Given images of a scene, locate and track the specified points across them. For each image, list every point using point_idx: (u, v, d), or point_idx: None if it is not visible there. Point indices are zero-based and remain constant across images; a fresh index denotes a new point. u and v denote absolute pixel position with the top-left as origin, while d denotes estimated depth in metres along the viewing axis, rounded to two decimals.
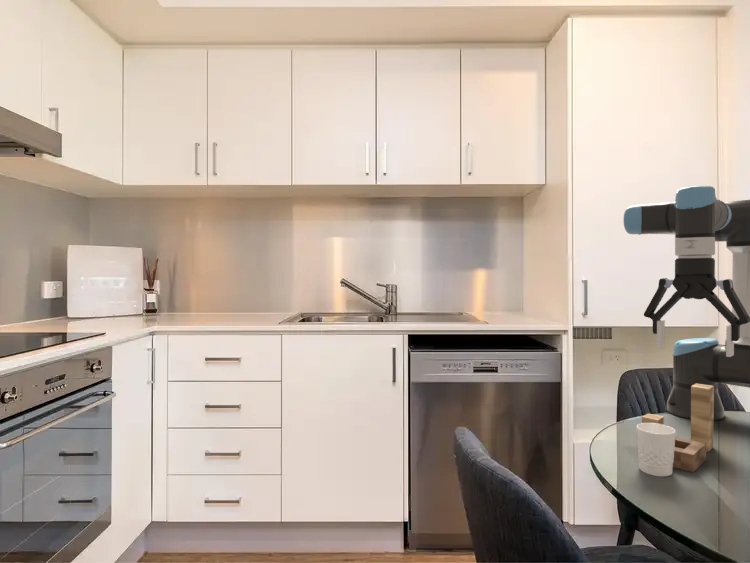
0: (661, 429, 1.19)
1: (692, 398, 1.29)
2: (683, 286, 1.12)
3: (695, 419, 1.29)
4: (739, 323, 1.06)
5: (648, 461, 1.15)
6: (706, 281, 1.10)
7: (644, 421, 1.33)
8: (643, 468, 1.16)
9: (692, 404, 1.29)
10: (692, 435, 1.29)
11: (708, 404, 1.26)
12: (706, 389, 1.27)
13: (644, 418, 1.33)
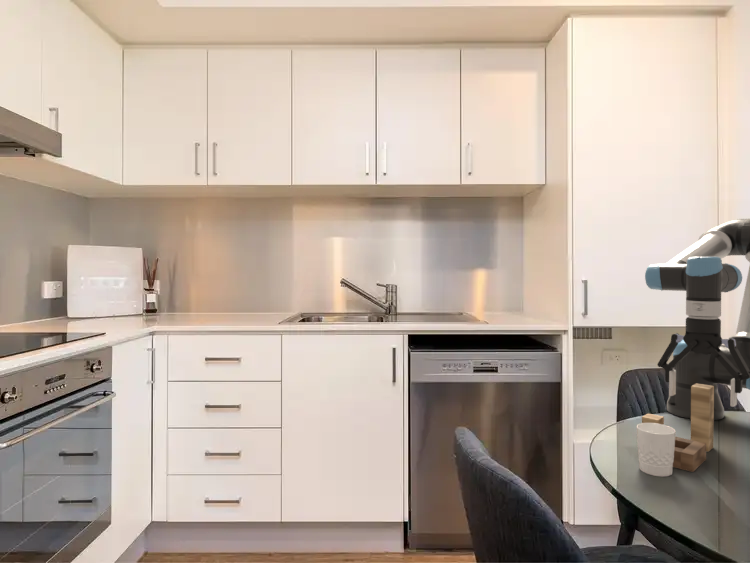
0: (661, 429, 1.19)
1: (692, 398, 1.29)
2: (693, 342, 1.28)
3: (695, 419, 1.29)
4: (742, 378, 1.22)
5: (648, 461, 1.15)
6: (713, 339, 1.26)
7: (644, 421, 1.33)
8: (643, 468, 1.16)
9: (692, 404, 1.29)
10: (692, 435, 1.29)
11: (708, 404, 1.26)
12: (706, 389, 1.27)
13: (644, 418, 1.33)
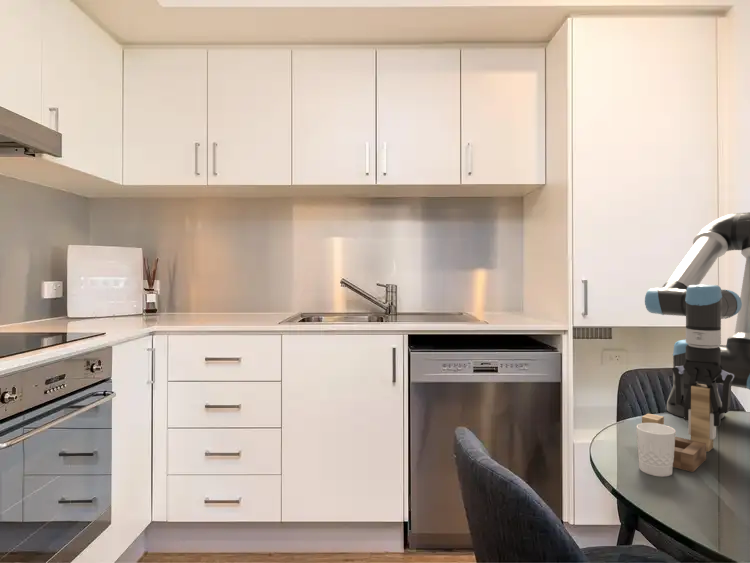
0: (661, 429, 1.19)
1: (692, 398, 1.29)
2: (693, 371, 1.29)
3: (695, 419, 1.29)
4: (720, 412, 1.26)
5: (648, 461, 1.15)
6: (714, 367, 1.26)
7: (644, 421, 1.33)
8: (643, 468, 1.16)
9: (692, 404, 1.29)
10: (692, 435, 1.29)
11: (708, 404, 1.26)
12: (706, 389, 1.27)
13: (644, 418, 1.33)
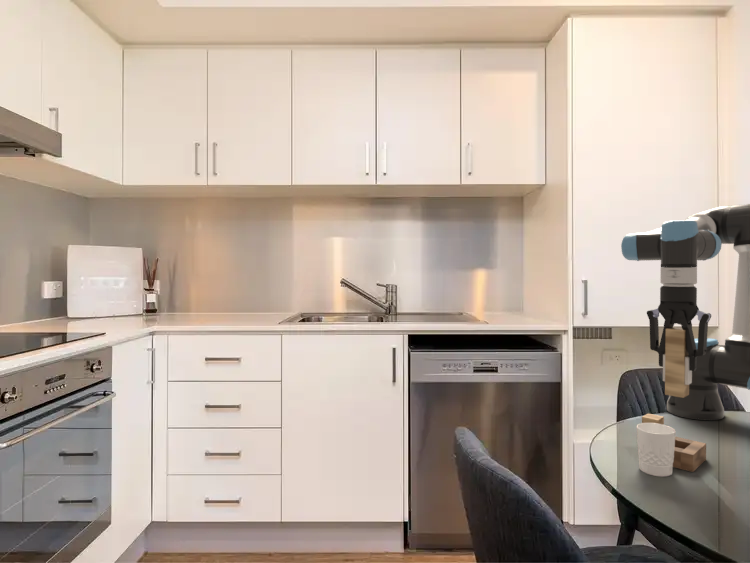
0: (661, 429, 1.19)
1: (667, 341, 1.21)
2: (668, 313, 1.21)
3: (669, 364, 1.21)
4: (696, 355, 1.18)
5: (648, 461, 1.15)
6: (690, 307, 1.18)
7: (644, 421, 1.33)
8: (643, 468, 1.16)
9: (666, 348, 1.21)
10: (666, 381, 1.22)
11: (683, 347, 1.19)
12: (681, 331, 1.19)
13: (644, 418, 1.33)
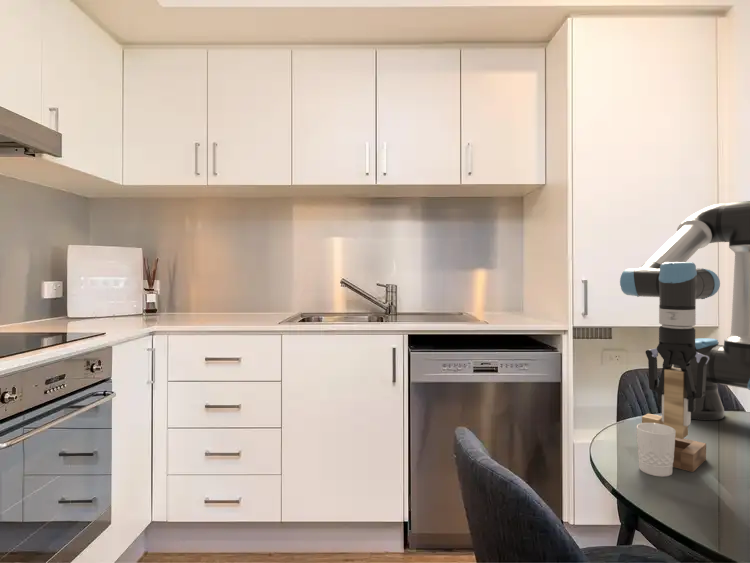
0: (661, 429, 1.19)
1: (665, 382, 1.21)
2: (666, 353, 1.21)
3: (668, 405, 1.21)
4: (694, 396, 1.18)
5: (648, 461, 1.15)
6: (688, 349, 1.18)
7: (644, 421, 1.33)
8: (643, 468, 1.16)
9: (665, 389, 1.21)
10: (665, 422, 1.22)
11: (682, 388, 1.19)
12: (680, 372, 1.19)
13: (644, 418, 1.33)
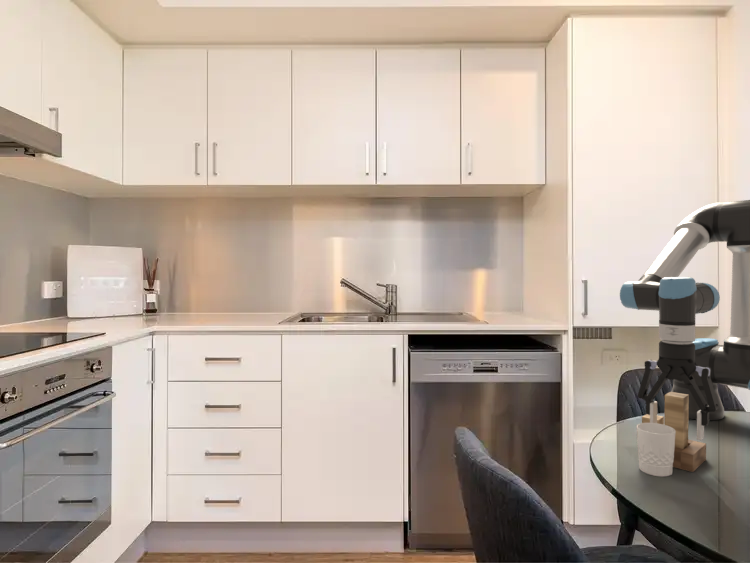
0: (661, 429, 1.19)
1: (666, 407, 1.22)
2: (666, 368, 1.21)
3: None
4: (708, 410, 1.16)
5: (648, 461, 1.15)
6: (687, 365, 1.19)
7: (644, 421, 1.33)
8: (643, 468, 1.16)
9: (666, 414, 1.22)
10: None
11: (682, 414, 1.19)
12: (680, 398, 1.19)
13: (644, 418, 1.33)
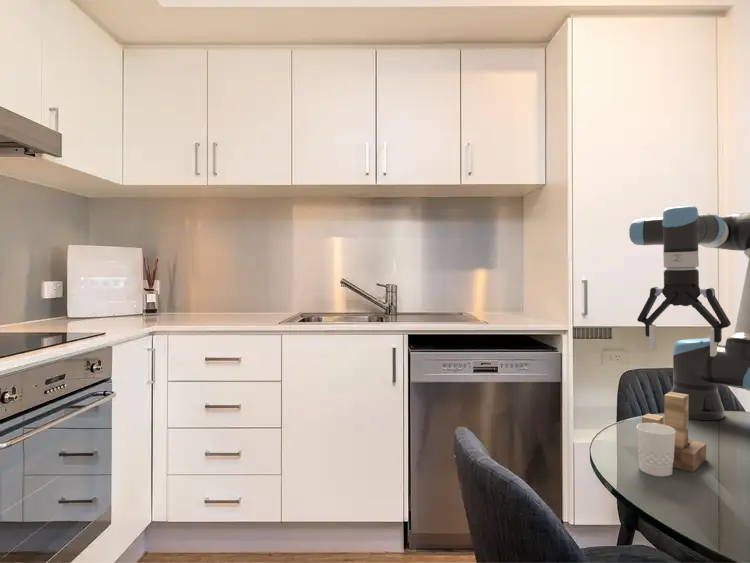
0: (661, 429, 1.19)
1: (665, 407, 1.22)
2: (671, 294, 1.27)
3: None
4: (721, 327, 1.21)
5: (648, 461, 1.15)
6: (691, 290, 1.24)
7: (644, 421, 1.33)
8: (643, 468, 1.16)
9: (665, 414, 1.22)
10: None
11: (682, 414, 1.19)
12: (680, 398, 1.19)
13: (644, 418, 1.33)
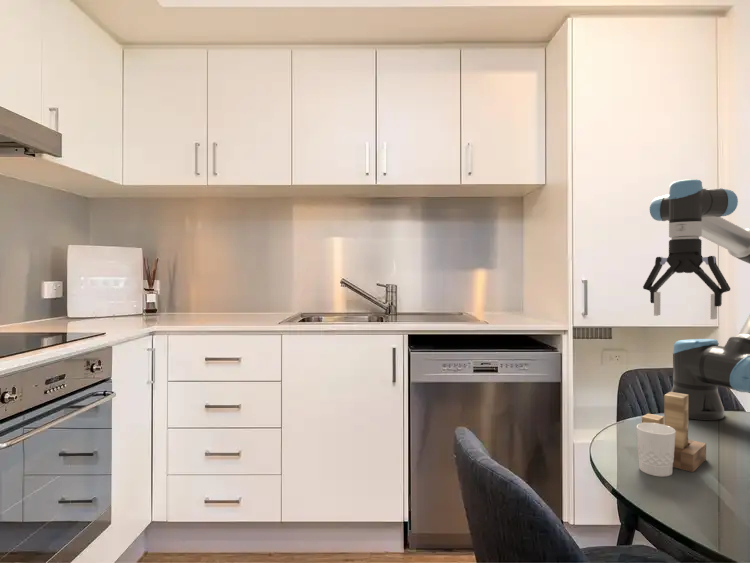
0: (661, 429, 1.19)
1: (665, 407, 1.22)
2: (675, 262, 1.36)
3: None
4: (721, 291, 1.29)
5: (648, 461, 1.15)
6: (694, 258, 1.33)
7: (644, 421, 1.33)
8: (643, 468, 1.16)
9: (665, 414, 1.22)
10: None
11: (682, 414, 1.19)
12: (680, 398, 1.19)
13: (644, 418, 1.33)
